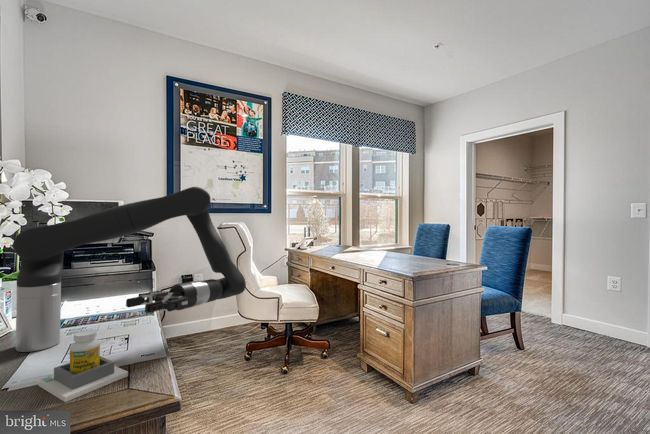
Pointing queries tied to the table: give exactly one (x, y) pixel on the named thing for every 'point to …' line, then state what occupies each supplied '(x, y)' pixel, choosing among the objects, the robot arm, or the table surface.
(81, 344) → the supplement bottle
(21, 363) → the table surface
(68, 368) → the dock
